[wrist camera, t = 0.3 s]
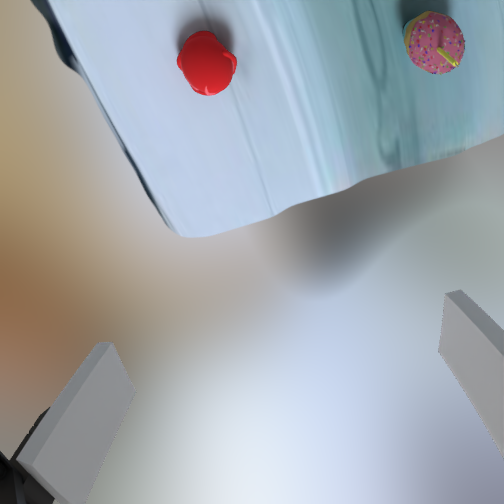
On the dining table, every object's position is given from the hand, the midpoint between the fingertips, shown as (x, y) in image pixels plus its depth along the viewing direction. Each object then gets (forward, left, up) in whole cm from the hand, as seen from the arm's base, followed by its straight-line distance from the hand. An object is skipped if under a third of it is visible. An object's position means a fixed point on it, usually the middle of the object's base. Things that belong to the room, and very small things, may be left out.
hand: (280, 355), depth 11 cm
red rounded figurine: (-2, -2, -35) cm, 35 cm away
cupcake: (+11, +22, -35) cm, 42 cm away
